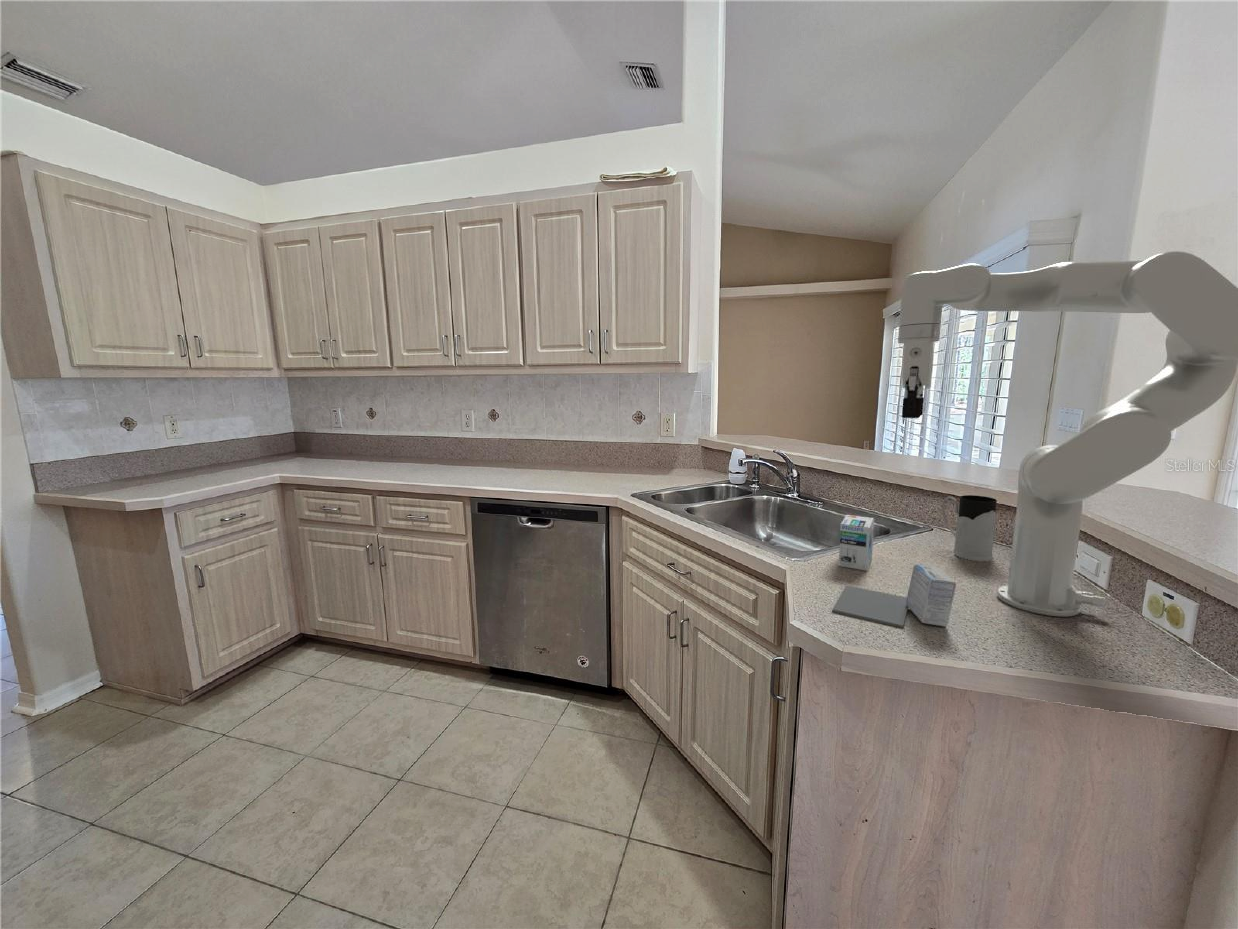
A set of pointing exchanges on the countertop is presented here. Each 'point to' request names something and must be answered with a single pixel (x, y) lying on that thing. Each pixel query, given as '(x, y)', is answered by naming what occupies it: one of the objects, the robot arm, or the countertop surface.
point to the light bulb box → (856, 542)
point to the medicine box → (931, 595)
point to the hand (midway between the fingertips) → (912, 416)
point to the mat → (872, 606)
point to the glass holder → (974, 527)
